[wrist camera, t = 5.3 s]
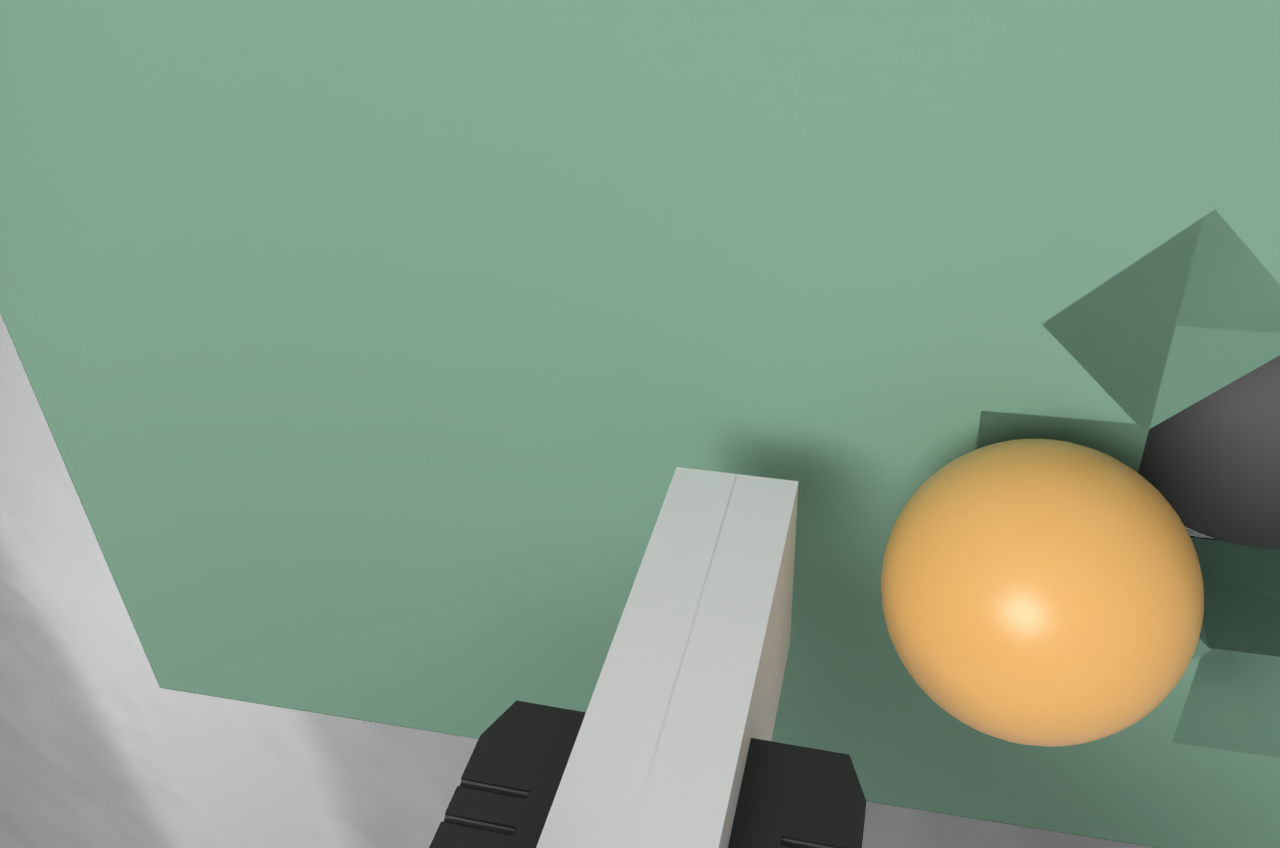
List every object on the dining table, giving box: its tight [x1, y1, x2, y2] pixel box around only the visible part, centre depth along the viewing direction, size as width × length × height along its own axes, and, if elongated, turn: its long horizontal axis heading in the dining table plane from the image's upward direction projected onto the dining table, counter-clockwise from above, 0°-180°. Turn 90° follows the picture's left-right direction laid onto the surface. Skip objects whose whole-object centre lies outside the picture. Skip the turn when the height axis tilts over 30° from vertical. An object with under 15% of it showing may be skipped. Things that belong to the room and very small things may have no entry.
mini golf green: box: [0, 0, 1280, 848], centre depth 12 cm, size 24×14×12 cm, turn 93°
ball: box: [881, 439, 1204, 747], centre depth 13 cm, size 4×4×4 cm
